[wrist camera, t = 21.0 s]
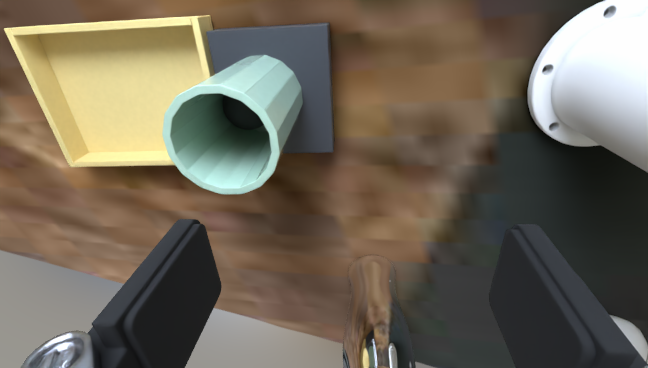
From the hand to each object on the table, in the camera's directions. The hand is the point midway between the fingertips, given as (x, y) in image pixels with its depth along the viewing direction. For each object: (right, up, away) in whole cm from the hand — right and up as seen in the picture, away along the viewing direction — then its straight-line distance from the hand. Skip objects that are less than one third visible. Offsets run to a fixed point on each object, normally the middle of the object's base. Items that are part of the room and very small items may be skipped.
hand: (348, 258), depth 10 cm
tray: (-19, +11, +23) cm, 32 cm away
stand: (-5, +12, +21) cm, 25 cm away
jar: (-6, +10, +19) cm, 22 cm away
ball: (-7, +9, +17) cm, 20 cm away
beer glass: (+5, -9, +32) cm, 34 cm away
